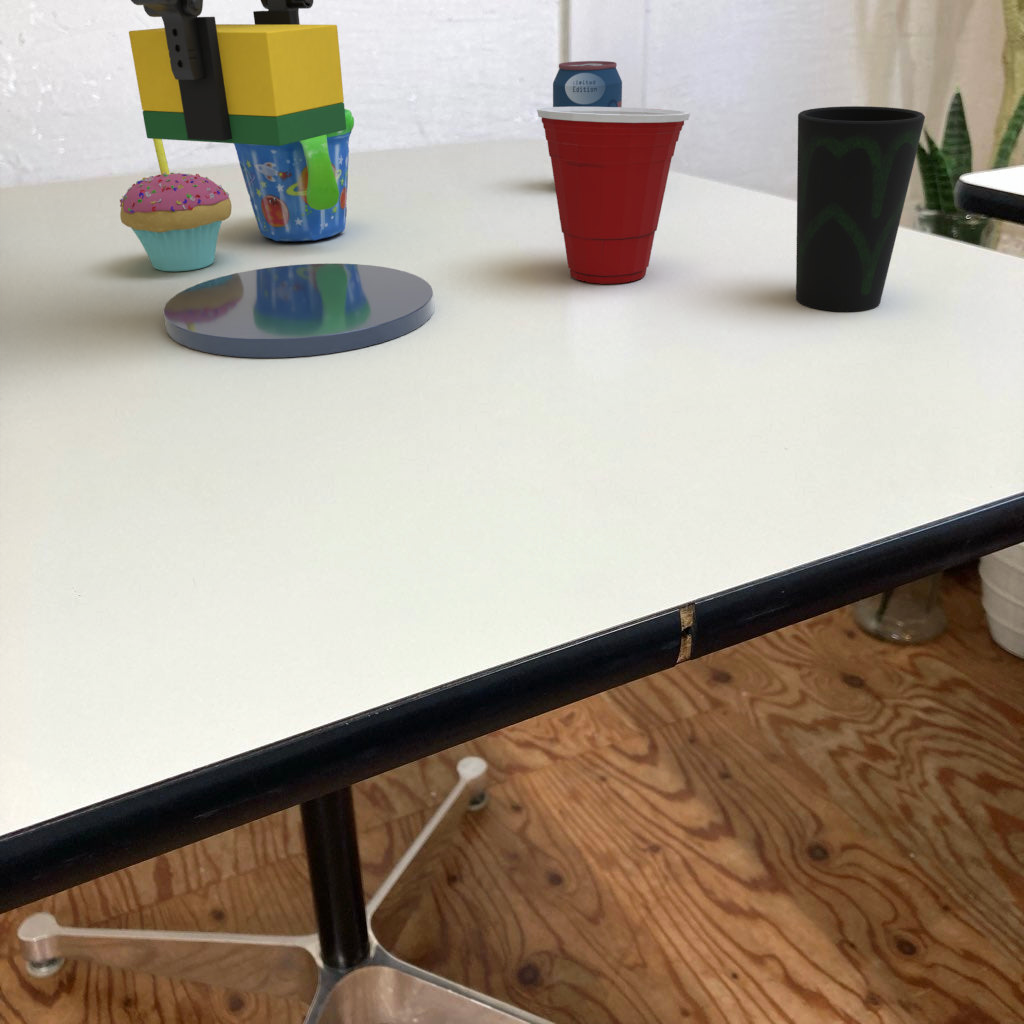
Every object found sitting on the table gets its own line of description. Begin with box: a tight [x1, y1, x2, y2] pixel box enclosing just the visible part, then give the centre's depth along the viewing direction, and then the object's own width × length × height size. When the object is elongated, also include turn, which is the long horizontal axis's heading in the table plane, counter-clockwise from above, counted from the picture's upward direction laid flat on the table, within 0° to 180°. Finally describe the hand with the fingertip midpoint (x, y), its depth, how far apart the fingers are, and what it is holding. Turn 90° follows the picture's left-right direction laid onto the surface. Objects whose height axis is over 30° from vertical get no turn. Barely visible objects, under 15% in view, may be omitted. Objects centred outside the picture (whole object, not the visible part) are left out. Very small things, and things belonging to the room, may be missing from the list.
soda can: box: [552, 60, 623, 107], centre depth 106 cm, size 7×7×12 cm
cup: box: [795, 105, 926, 313], centre depth 68 cm, size 8×8×12 cm
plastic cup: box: [536, 106, 691, 285], centre depth 76 cm, size 11×11×12 cm
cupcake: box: [119, 139, 232, 272], centre depth 81 cm, size 9×8×12 cm
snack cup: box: [233, 108, 355, 242], centre depth 90 cm, size 16×10×10 cm
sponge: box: [128, 23, 346, 146], centre depth 63 cm, size 10×7×6 cm
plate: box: [162, 263, 435, 359], centre depth 71 cm, size 18×18×1 cm
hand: (250, 129), depth 65 cm, fingers closed on sponge, 7 cm apart
